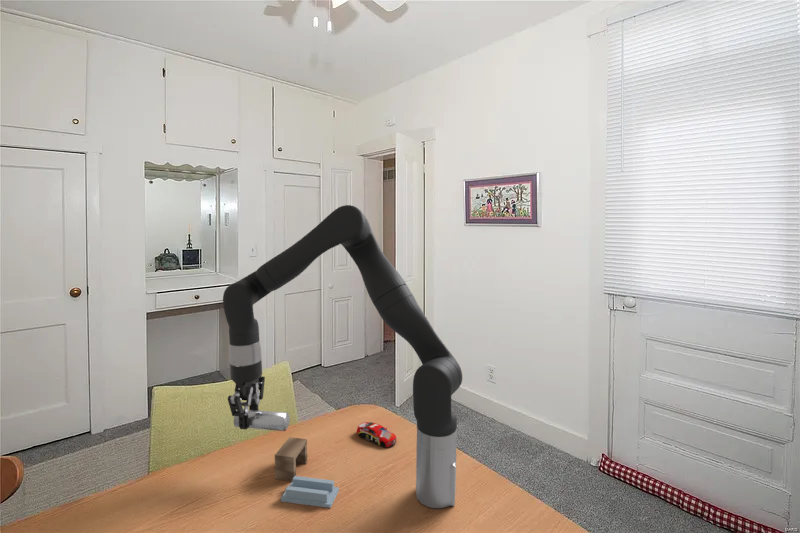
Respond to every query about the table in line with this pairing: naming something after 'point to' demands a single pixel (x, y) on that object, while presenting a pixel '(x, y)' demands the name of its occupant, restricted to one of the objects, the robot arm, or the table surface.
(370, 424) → the race car
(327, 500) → the cradle
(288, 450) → the brown bridge block
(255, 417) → the axle
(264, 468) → the table surface
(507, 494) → the table surface
